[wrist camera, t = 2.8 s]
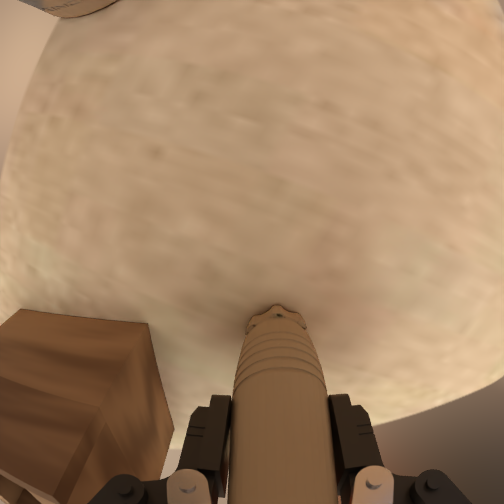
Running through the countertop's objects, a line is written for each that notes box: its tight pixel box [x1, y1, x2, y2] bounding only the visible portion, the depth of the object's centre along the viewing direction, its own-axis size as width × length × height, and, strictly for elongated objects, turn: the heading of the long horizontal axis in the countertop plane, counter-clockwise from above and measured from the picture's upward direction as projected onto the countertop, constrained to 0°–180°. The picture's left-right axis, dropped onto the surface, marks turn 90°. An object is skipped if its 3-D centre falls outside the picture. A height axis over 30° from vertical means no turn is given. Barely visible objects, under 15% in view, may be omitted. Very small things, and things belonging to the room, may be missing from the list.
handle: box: [227, 306, 338, 504], centre depth 10 cm, size 5×6×15 cm
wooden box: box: [0, 309, 174, 504], centre depth 14 cm, size 10×11×12 cm
